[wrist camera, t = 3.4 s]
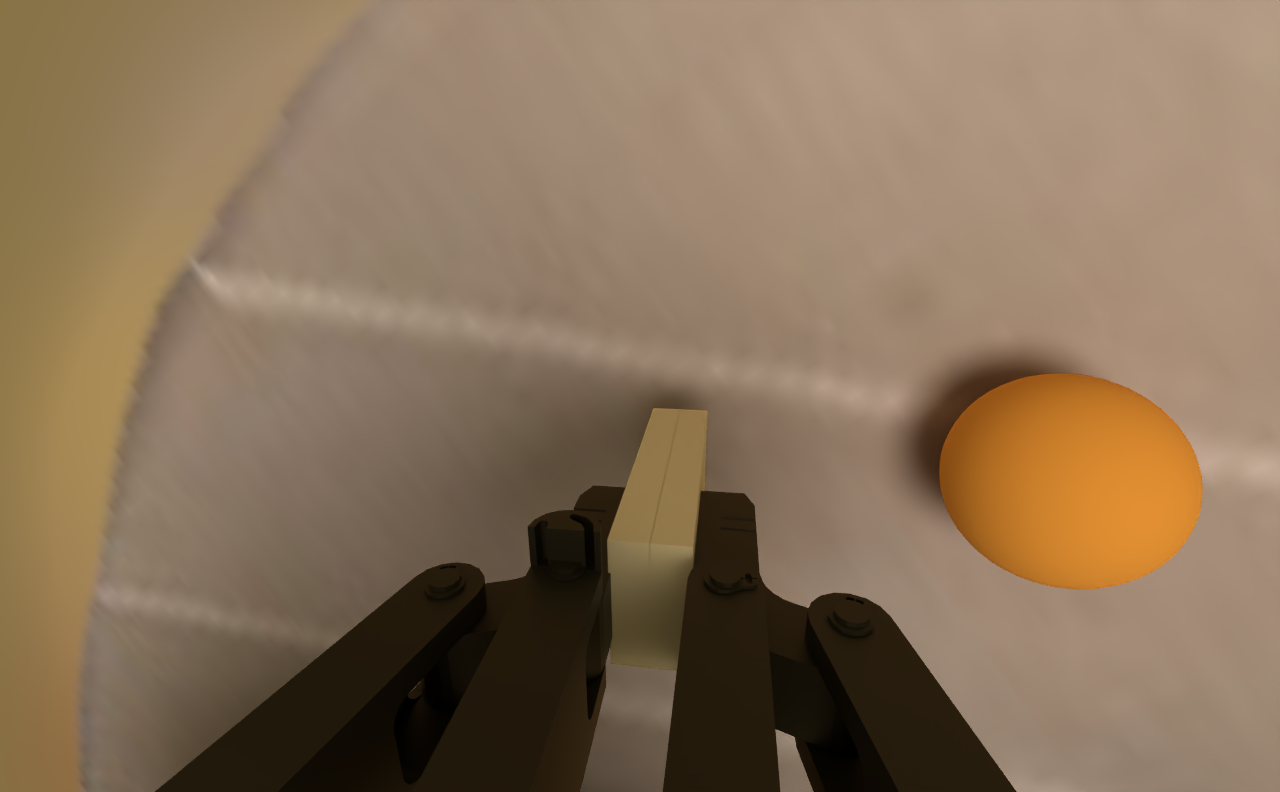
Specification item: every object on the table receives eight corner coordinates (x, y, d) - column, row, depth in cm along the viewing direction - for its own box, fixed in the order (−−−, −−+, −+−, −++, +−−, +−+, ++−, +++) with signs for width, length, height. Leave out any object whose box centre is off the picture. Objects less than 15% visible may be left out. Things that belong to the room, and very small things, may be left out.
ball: (902, 510, 19) (966, 627, 14) (928, 346, 17) (1012, 413, 12) (1086, 522, 18) (1224, 650, 13) (1133, 352, 17) (1314, 425, 12)
